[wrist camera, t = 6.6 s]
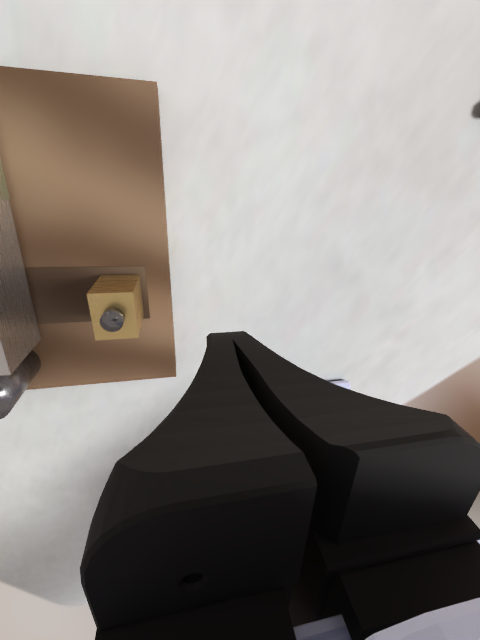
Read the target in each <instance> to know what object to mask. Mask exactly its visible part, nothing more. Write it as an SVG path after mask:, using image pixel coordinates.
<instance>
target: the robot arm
mask: <svg viewBox="0 0 480 640" xmlns="http://www.w3.org/2000/svg"><path fill="white" fill-rule="evenodd" d="M350 387H351V385H350V383H349V382H348V381H347V380H341V381H331V382H328V381H326V380H324V379H322V378H319V377H317V376H315V375H313V374H311V373H309V372H307V371H305V370H303V369H301V368H299V367H297V366H296V365H294V364H292V363H291V362H289V361H287V360H286V359H284V358H282V357H281V356H279V355H278V354H276V353H275V352H273V351H272V350H270V349H269V348H267V347H266V346H264V345H263V344H262V343H260V342H259V341H257V340H256V339H255V338H253V337H252V336H251V335H249V334H248V333H246V332H244V331H241V332H225V333H210V334H209V335H208V336H207V348H206V352H205V355H204V358H203V360H202V363H201V365H200V367H199V370H198V372H197V374H196V376H195V378H194V380H193V382H192V383H191V385H190V387H189V388H188V390H187V391H186V393H185V394H184V396H183V397H182V398H181V400H180V401H179V402H178V404H177V405H176V406H175V408H174V409H173V410H172V411H171V413H170V414H169V415H168V416H167V417H166V418H165V419H164V420H163V421H162V422H161V423H160V424H159V425H158V426H157V428H156V429H155V430H154V431H153V432H152V433H151V434H150V435H149V436H148V437H146V438H145V439H144V440H143V441H142V442H141V443H139V444H138V445H137V446H136V447H135V448H133V449H132V450H131V451H130V452H128V453H127V454H126V455H125V456H123V457H122V458H121V459H119V460H118V461H117V462H116V464H115V466H114V468H113V470H112V472H111V474H110V476H109V479H108V481H107V483H106V485H105V488H104V490H103V492H102V495H101V497H100V500H99V502H98V505H97V508H96V511H95V513H94V516H93V519H92V523H91V526H90V530H89V534H88V538H87V542H86V546H85V550H84V554H83V558H82V562H81V567H80V574H81V584H82V587H83V590H84V593H85V595H86V598H87V601H88V604H89V607H90V610H91V612H92V615H93V618H94V621H95V624H96V627H97V631H96V637H95V640H480V529H479V528H478V527H477V526H476V525H475V523H474V522H473V521H472V520H471V519H470V518H469V517H468V515H467V514H468V512H469V510H470V508H471V506H472V504H473V502H474V500H475V499H476V497H477V495H478V493H479V491H480V443H479V442H478V441H477V440H475V439H474V438H473V437H472V436H471V435H470V434H468V433H467V432H466V431H465V430H464V429H463V428H461V427H460V426H459V425H458V424H457V423H456V422H454V421H453V420H452V419H451V418H450V417H449V416H447V415H444V414H440V413H436V412H431V411H426V410H421V409H417V408H412V407H407V406H403V405H399V404H395V403H391V402H387V401H384V400H380V399H377V398H373V397H370V396H367V395H364V394H361V393H357V392H355V391H352V390H350Z"/></svg>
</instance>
